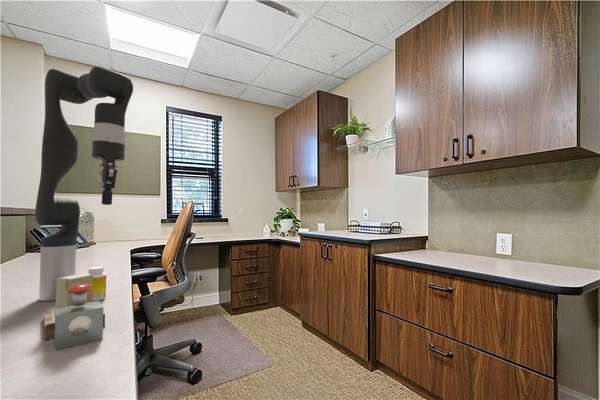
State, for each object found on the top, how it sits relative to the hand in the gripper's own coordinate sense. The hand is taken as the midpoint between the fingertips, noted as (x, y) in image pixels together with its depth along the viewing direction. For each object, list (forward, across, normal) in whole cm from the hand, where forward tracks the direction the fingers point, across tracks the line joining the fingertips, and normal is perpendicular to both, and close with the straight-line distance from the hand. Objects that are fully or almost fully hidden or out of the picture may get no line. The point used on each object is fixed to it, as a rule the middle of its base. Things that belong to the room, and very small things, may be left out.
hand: (106, 204), depth 80 cm
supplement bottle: (+31, -19, 0) cm, 37 cm away
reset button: (+22, +15, -6) cm, 28 cm away
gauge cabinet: (+30, +15, -6) cm, 34 cm away
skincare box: (+30, +4, -6) cm, 31 cm away
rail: (+30, +1, -6) cm, 31 cm away
